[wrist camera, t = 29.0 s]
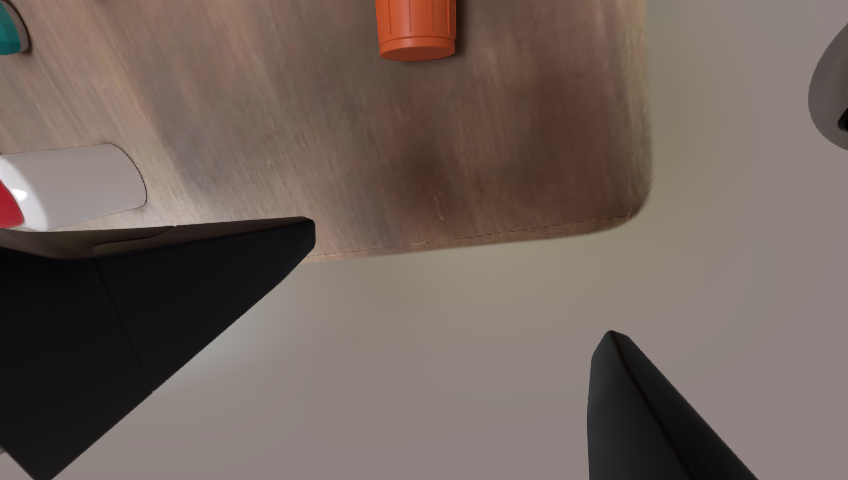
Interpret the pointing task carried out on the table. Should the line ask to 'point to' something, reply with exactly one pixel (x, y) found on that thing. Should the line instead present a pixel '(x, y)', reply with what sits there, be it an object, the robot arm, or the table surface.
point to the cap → (416, 29)
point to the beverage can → (11, 31)
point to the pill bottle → (67, 186)
